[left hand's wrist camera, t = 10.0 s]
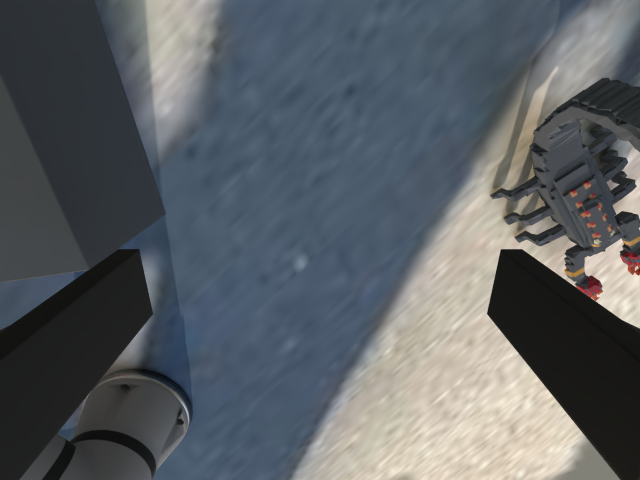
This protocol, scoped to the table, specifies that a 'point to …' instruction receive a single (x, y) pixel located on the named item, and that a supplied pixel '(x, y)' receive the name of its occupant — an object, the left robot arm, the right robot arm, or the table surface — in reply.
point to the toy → (584, 179)
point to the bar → (65, 144)
